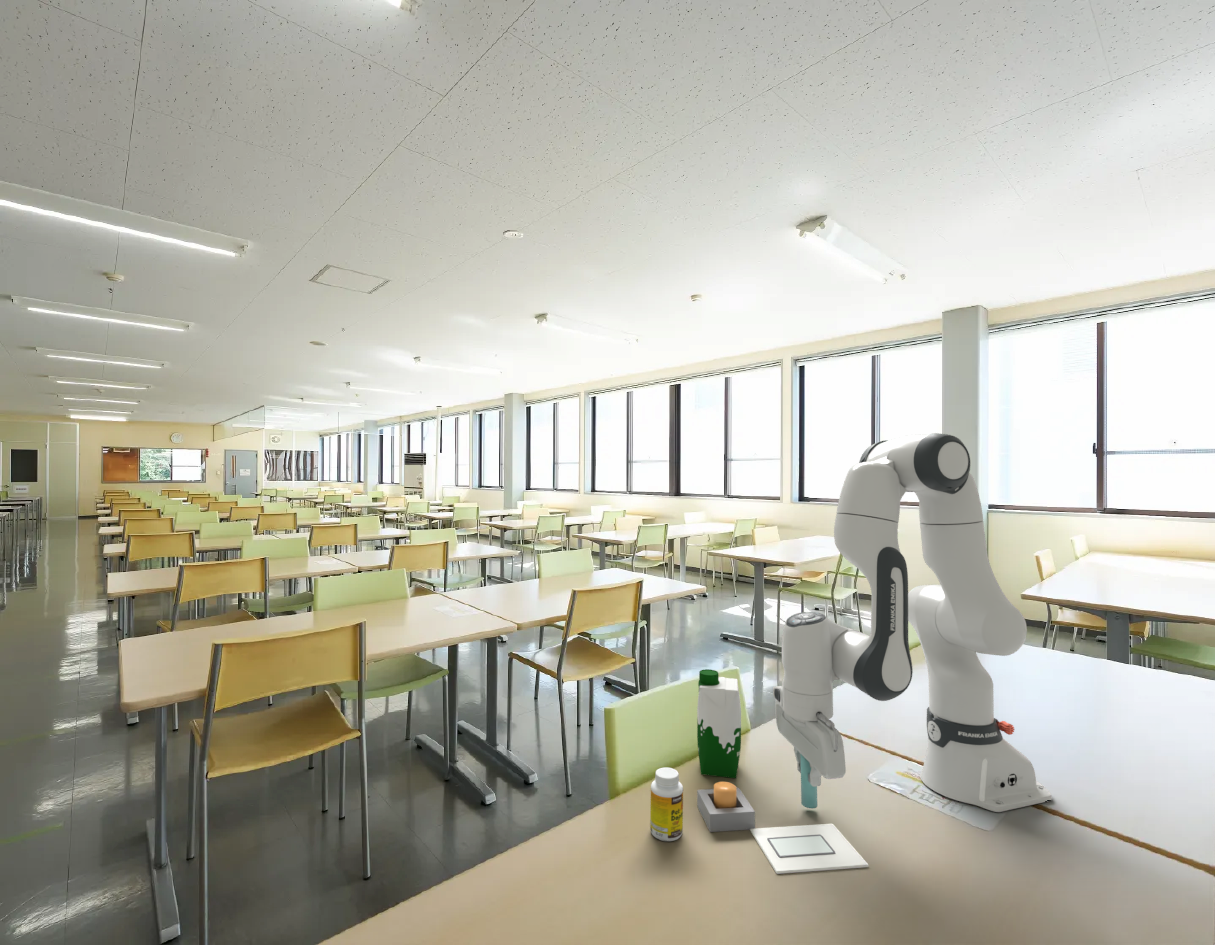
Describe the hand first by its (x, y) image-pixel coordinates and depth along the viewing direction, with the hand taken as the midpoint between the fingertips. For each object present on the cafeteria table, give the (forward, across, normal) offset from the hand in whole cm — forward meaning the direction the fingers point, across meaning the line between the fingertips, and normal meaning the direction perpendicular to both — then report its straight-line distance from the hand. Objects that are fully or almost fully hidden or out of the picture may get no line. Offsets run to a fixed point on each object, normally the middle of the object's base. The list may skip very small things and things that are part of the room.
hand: (809, 778), depth 106 cm
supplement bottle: (+5, -4, +28) cm, 28 cm away
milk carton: (+6, +17, +12) cm, 21 cm away
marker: (+5, 0, 0) cm, 5 cm away
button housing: (+6, 0, +16) cm, 17 cm away
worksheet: (+6, -10, +6) cm, 13 cm away
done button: (+4, 0, +16) cm, 17 cm away
